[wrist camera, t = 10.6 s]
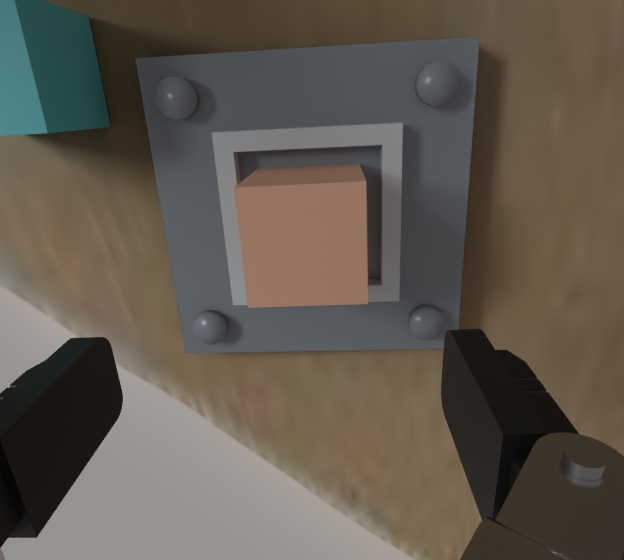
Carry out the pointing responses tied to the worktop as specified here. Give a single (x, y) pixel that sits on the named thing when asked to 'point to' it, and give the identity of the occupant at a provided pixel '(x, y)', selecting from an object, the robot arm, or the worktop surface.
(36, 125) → the teal block
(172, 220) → the plate
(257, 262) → the terracotta block
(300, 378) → the worktop surface
